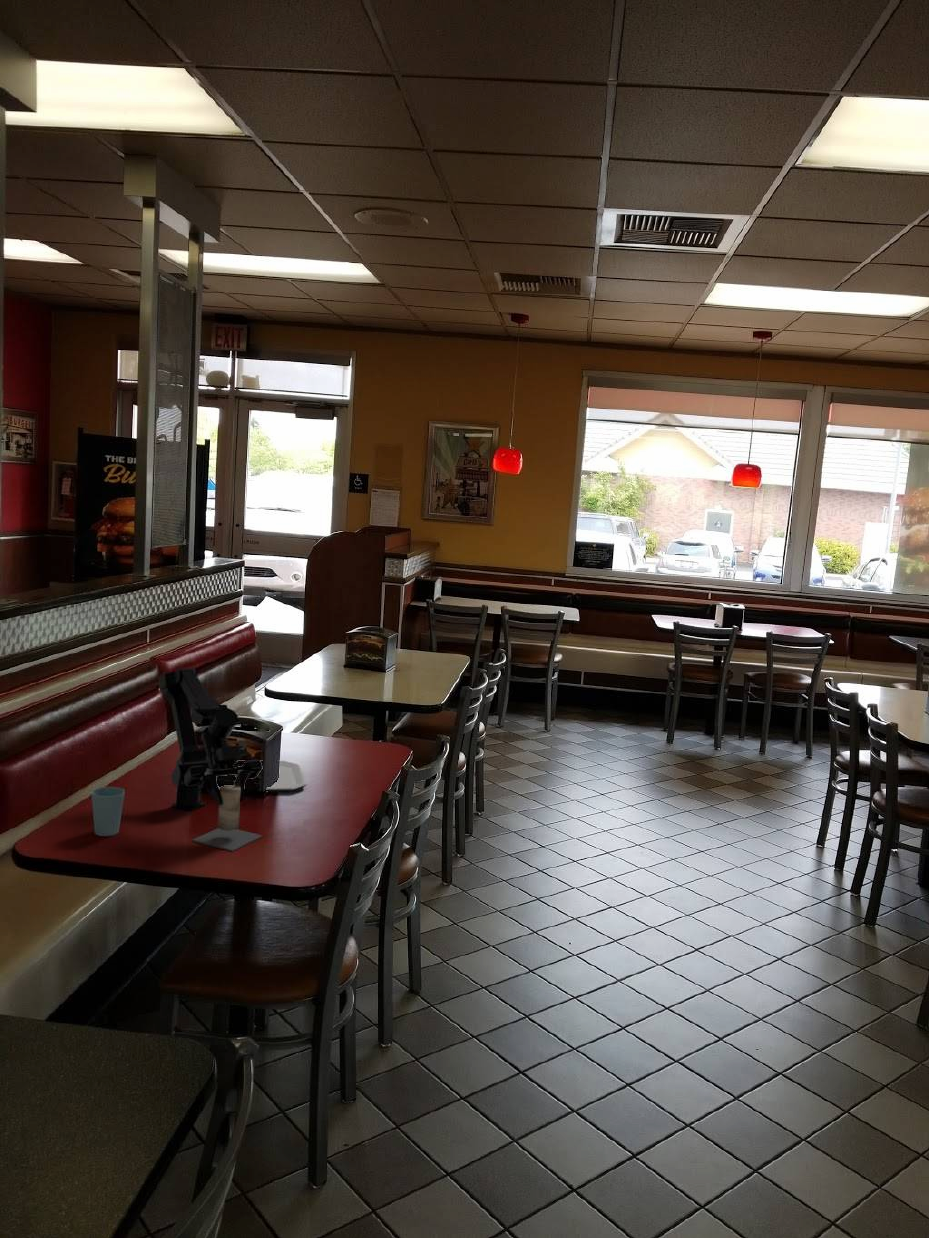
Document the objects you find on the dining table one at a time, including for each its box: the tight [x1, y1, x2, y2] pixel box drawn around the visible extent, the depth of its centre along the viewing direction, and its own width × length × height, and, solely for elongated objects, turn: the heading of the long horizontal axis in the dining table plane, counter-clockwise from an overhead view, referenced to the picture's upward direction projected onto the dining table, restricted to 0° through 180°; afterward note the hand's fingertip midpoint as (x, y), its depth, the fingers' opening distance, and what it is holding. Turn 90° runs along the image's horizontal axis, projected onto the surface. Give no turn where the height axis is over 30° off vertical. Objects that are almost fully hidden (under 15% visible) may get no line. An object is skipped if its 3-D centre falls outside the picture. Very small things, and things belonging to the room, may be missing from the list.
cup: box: [90, 786, 126, 837], centre depth 234 cm, size 8×8×10 cm
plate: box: [218, 760, 307, 793], centre depth 285 cm, size 29×29×2 cm
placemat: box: [192, 827, 263, 853], centre depth 236 cm, size 12×12×1 cm
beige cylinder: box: [217, 785, 241, 831], centre depth 235 cm, size 5×5×10 cm
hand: (231, 802), depth 234 cm, fingers closed on beige cylinder, 5 cm apart
